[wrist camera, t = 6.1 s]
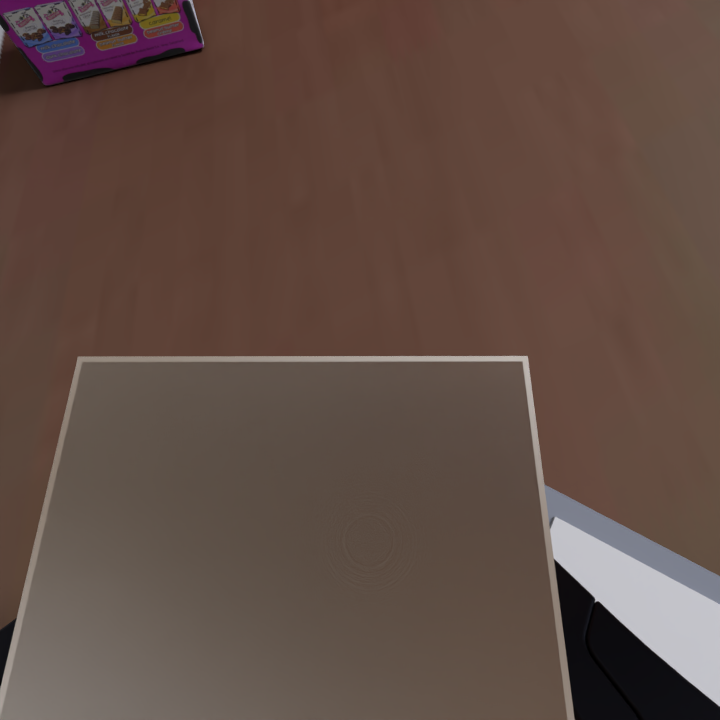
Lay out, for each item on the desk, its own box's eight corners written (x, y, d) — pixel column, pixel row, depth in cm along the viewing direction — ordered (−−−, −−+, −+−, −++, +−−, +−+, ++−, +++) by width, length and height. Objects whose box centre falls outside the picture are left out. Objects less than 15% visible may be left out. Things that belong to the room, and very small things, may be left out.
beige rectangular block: (417, 632, 14) (611, 1001, 3) (279, 631, 14) (-70, 985, 3) (412, 489, 15) (527, 356, 4) (287, 489, 16) (77, 356, 4)
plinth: (695, 925, 17) (752, 993, 14) (415, 740, 19) (422, 770, 16) (766, 617, 20) (822, 629, 17) (521, 488, 22) (541, 481, 19)
